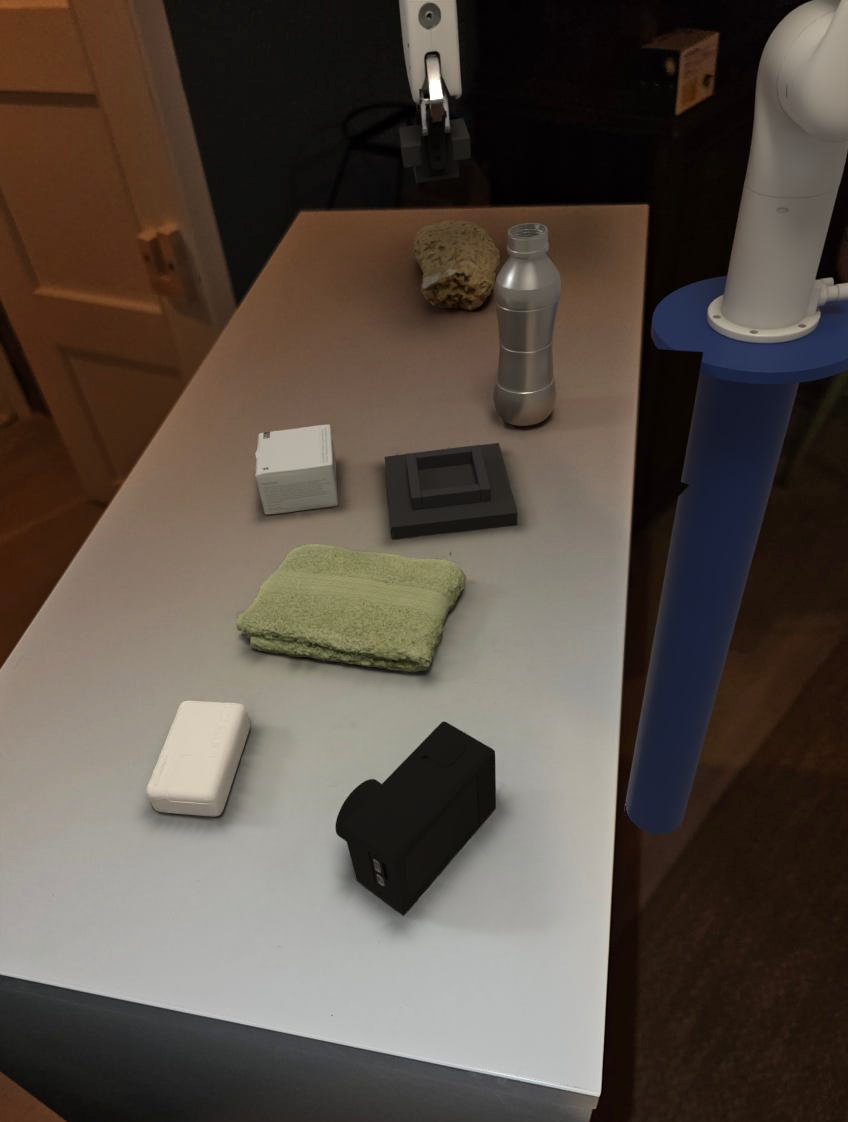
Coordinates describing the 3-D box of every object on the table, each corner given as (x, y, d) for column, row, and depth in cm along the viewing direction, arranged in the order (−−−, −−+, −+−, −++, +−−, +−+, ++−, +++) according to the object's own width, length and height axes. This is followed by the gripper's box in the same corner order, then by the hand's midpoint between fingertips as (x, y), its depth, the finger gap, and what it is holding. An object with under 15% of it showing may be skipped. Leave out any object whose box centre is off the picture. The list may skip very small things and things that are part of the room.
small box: (339, 507, 87) (332, 464, 84) (263, 516, 88) (253, 475, 84) (337, 463, 93) (330, 422, 89) (266, 472, 93) (256, 431, 90)
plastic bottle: (493, 403, 98) (491, 220, 84) (554, 400, 97) (562, 214, 82) (493, 434, 93) (490, 246, 79) (556, 432, 92) (565, 241, 78)
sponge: (499, 320, 114) (511, 230, 124) (486, 269, 108) (499, 178, 118) (406, 337, 119) (424, 249, 129) (388, 289, 113) (409, 200, 123)
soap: (189, 720, 70) (179, 696, 68) (254, 723, 69) (246, 699, 67) (153, 815, 64) (140, 792, 62) (223, 821, 63) (213, 797, 60)
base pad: (499, 454, 91) (498, 430, 88) (517, 525, 82) (517, 499, 80) (385, 468, 91) (383, 444, 89) (392, 539, 83) (389, 514, 81)
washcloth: (293, 554, 83) (287, 528, 81) (471, 582, 77) (470, 554, 75) (233, 650, 75) (225, 624, 72) (427, 689, 69) (424, 661, 67)
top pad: (464, 158, 96) (463, 117, 93) (471, 179, 91) (470, 137, 88) (402, 167, 96) (398, 127, 93) (405, 188, 91) (402, 147, 88)
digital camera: (436, 770, 64) (430, 709, 59) (496, 807, 61) (495, 747, 56) (342, 870, 59) (326, 814, 54) (403, 916, 56) (393, 861, 51)
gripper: (473, -36, 74) (479, 186, 86) (454, -64, 86) (461, 134, 99) (386, -22, 74) (405, 196, 87) (379, -52, 87) (396, 143, 99)
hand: (435, 161), depth 93 cm, fingers closed on top pad, 7 cm apart
